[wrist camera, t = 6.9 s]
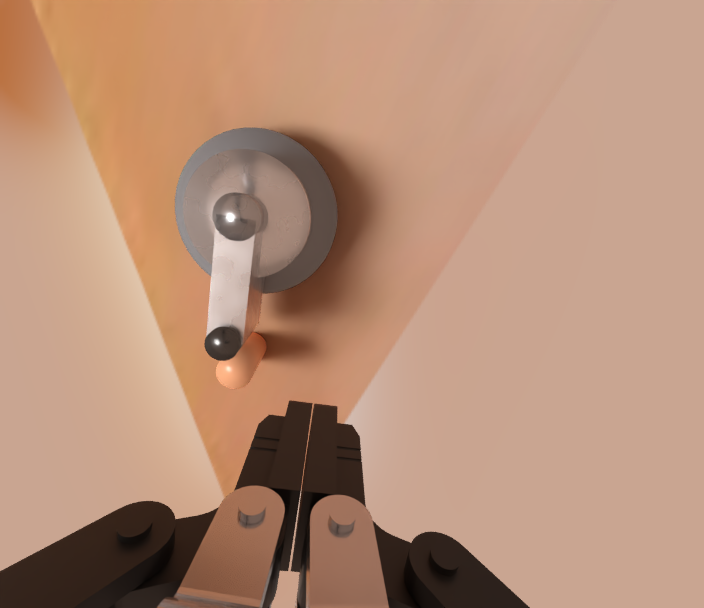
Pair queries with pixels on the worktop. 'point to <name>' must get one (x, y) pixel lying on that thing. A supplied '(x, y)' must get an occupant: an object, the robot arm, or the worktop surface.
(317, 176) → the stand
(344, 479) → the robot arm
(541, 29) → the worktop surface
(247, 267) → the dial
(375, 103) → the worktop surface
